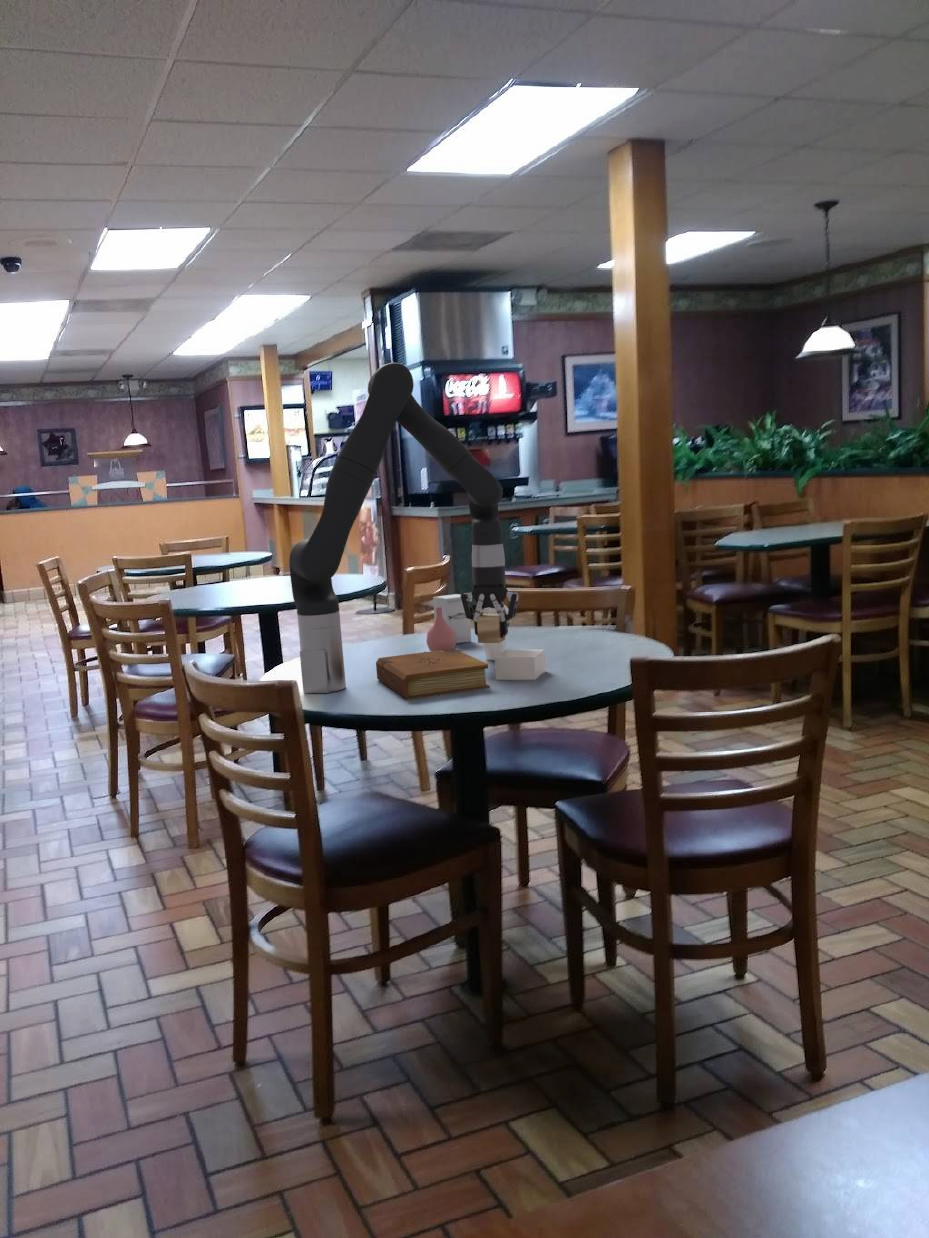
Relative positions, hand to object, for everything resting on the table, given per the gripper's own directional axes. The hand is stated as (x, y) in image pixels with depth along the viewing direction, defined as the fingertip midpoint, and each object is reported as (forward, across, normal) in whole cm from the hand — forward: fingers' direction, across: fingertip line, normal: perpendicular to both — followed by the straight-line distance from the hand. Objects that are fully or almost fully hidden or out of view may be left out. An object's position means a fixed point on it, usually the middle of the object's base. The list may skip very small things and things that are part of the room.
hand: (491, 636), depth 237 cm
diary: (+8, -9, -17) cm, 21 cm away
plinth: (+7, +9, -8) cm, 14 cm away
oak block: (+1, 0, 0) cm, 1 cm away
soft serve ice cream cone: (+7, -3, +11) cm, 13 cm away
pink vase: (+7, -19, +16) cm, 26 cm away
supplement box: (+7, -22, +34) cm, 41 cm away
